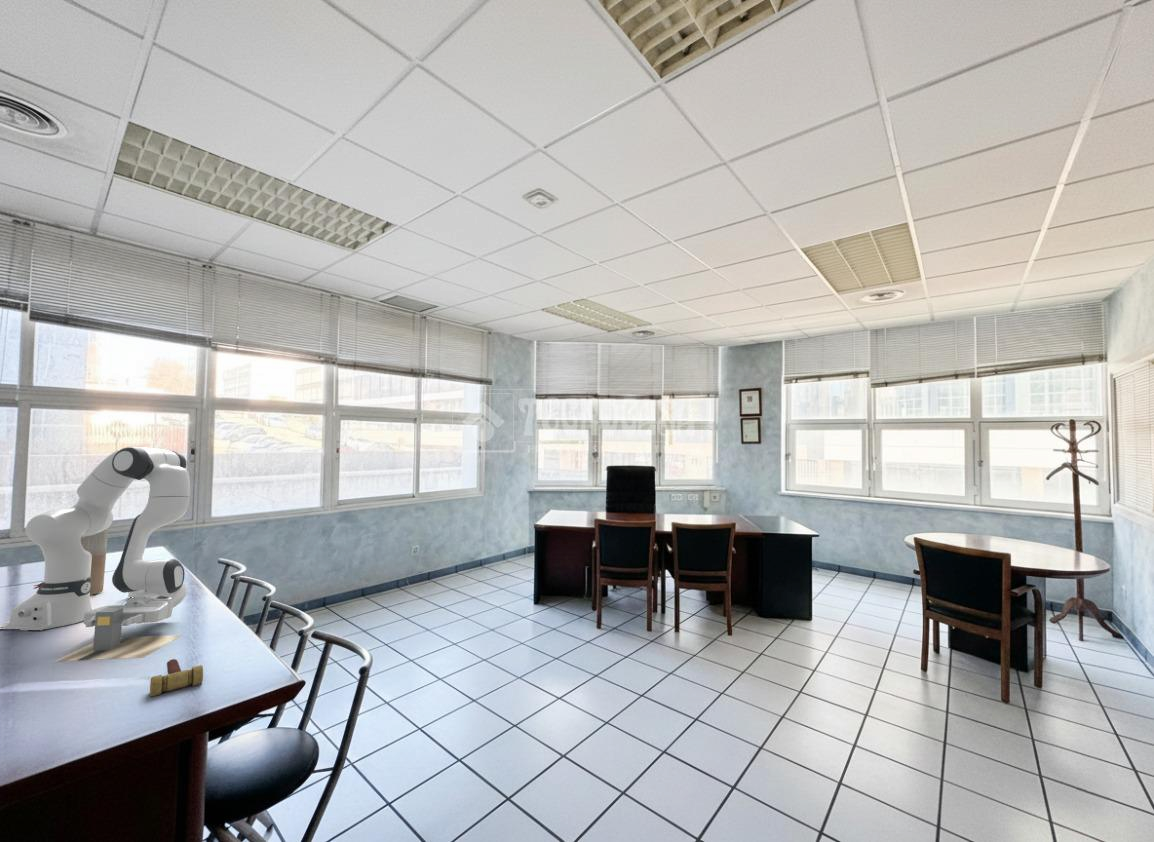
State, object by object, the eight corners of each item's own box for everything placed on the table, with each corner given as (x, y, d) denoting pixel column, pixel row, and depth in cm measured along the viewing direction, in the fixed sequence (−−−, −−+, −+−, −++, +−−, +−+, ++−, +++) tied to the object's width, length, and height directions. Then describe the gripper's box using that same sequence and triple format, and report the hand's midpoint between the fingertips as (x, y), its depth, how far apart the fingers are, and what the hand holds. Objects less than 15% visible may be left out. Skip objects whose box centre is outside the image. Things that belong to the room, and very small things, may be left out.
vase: (83, 590, 195) (89, 523, 196) (109, 590, 196) (115, 523, 197) (60, 598, 185) (66, 527, 187) (87, 597, 186) (93, 527, 188)
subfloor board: (53, 666, 128) (53, 661, 129) (102, 643, 144) (102, 638, 144) (143, 662, 132) (143, 657, 132) (181, 639, 148) (182, 635, 148)
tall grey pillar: (92, 651, 135) (95, 612, 136) (103, 645, 139) (106, 608, 140) (109, 650, 136) (112, 612, 137) (120, 645, 140) (123, 607, 140)
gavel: (147, 657, 129) (194, 647, 136) (146, 675, 128) (193, 664, 135) (151, 680, 114) (203, 667, 121) (150, 700, 113) (202, 686, 120)
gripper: (106, 599, 149) (67, 614, 136) (178, 597, 153) (146, 611, 139) (105, 619, 149) (65, 636, 135) (176, 616, 152) (144, 633, 139)
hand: (106, 623), depth 137 cm, fingers open, 8 cm apart
